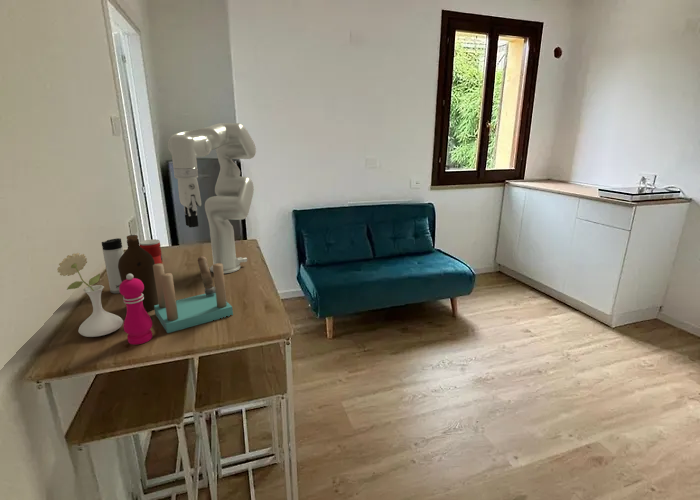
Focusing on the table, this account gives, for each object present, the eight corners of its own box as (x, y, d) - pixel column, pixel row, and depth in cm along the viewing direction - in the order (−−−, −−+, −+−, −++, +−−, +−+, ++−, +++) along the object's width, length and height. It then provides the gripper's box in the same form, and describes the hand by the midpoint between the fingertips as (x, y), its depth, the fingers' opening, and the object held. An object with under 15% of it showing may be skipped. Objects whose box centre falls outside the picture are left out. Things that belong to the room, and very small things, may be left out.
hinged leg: (214, 293, 137) (204, 256, 138) (216, 292, 134) (206, 254, 136) (205, 296, 135) (195, 258, 137) (207, 294, 132) (197, 256, 134)
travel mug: (122, 294, 143) (112, 241, 137) (106, 293, 144) (96, 240, 138) (134, 288, 149) (125, 237, 143) (119, 286, 150) (110, 236, 144)
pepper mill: (133, 333, 116) (121, 269, 110) (158, 332, 116) (148, 269, 110) (121, 346, 109) (108, 278, 103) (148, 345, 109) (137, 278, 103)
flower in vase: (117, 318, 125) (103, 243, 117) (129, 331, 117) (114, 251, 110) (69, 332, 116) (50, 252, 109) (77, 347, 108) (58, 261, 101)
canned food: (166, 264, 175) (163, 240, 172) (149, 269, 169) (145, 245, 166) (156, 261, 179) (153, 238, 176) (139, 266, 173) (135, 242, 170)
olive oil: (167, 303, 136) (157, 233, 128) (142, 316, 126) (129, 241, 119) (145, 298, 139) (134, 230, 132) (118, 311, 130) (104, 238, 123)
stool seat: (216, 298, 139) (211, 253, 134) (233, 315, 127) (228, 265, 122) (155, 313, 128) (147, 264, 123) (167, 333, 116) (159, 279, 111)
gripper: (204, 174, 129) (210, 228, 135) (190, 170, 142) (196, 220, 147) (181, 176, 125) (187, 232, 130) (168, 172, 137) (175, 223, 143)
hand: (192, 225), depth 139 cm, fingers closed
